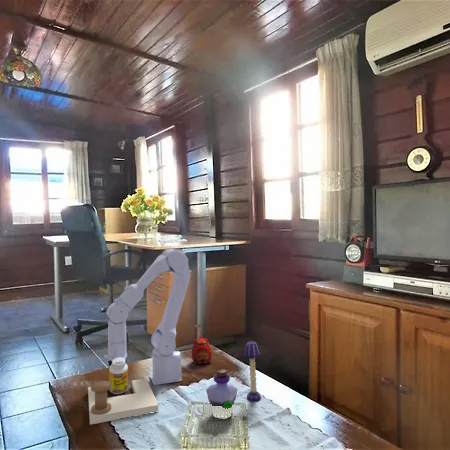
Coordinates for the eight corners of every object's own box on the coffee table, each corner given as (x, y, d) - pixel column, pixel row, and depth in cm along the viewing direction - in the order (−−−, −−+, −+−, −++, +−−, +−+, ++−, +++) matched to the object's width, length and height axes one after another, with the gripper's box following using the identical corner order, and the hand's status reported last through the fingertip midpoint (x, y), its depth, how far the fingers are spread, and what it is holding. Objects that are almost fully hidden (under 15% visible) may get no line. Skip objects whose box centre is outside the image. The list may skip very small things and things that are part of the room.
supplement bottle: (111, 397, 117) (111, 368, 114) (106, 386, 121) (107, 358, 119) (129, 392, 120) (130, 363, 117) (124, 381, 124) (125, 353, 121)
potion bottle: (222, 426, 99) (222, 379, 99) (199, 415, 105) (199, 371, 105) (244, 414, 105) (243, 370, 105) (221, 404, 111) (221, 362, 111)
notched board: (146, 384, 125) (146, 357, 126) (158, 412, 107) (158, 380, 107) (88, 393, 119) (87, 365, 119) (89, 424, 100) (89, 391, 100)
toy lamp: (249, 403, 112) (249, 345, 112) (241, 396, 116) (241, 341, 116) (263, 399, 114) (263, 343, 114) (255, 393, 118) (254, 339, 118)
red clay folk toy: (193, 366, 142) (192, 325, 142) (190, 359, 148) (190, 321, 148) (213, 364, 143) (213, 324, 143) (209, 358, 150) (209, 319, 150)
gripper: (102, 336, 129) (103, 376, 129) (105, 349, 115) (105, 394, 115) (124, 333, 131) (124, 373, 131) (129, 346, 118) (130, 390, 118)
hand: (117, 383), depth 123 cm, fingers closed
